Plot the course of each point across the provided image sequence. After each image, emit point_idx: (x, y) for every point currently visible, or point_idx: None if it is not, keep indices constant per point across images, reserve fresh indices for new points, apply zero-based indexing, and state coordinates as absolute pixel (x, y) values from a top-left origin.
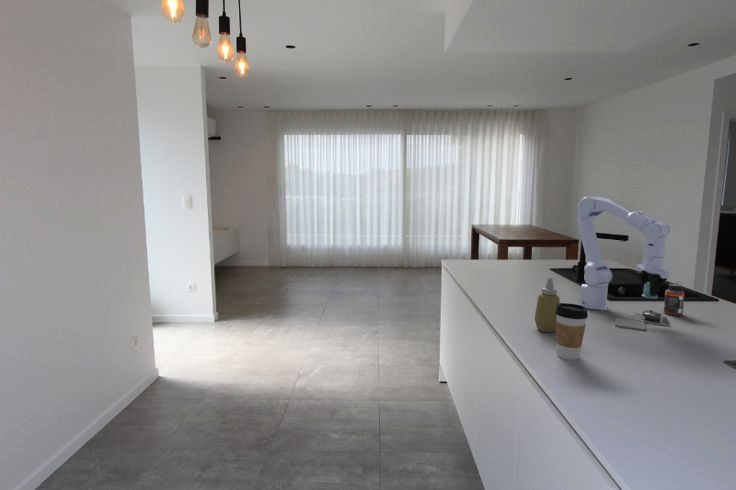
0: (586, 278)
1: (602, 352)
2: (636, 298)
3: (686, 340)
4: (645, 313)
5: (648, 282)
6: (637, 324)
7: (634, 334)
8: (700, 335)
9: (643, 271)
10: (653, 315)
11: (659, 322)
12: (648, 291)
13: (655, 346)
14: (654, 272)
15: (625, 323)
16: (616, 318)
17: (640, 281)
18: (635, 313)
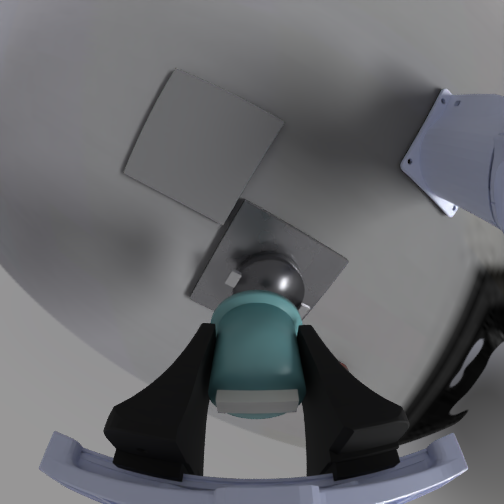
0: None
1: (16, 3)
2: (456, 350)
3: (66, 254)
4: (268, 267)
5: (276, 400)
6: (181, 170)
7: (92, 108)
8: (118, 322)
9: (363, 464)
10: (227, 278)
11: (214, 281)
12: (226, 334)
13: (18, 132)
14: (110, 482)
15: (195, 122)
16: (271, 121)
17: (343, 371)
18: (338, 260)
